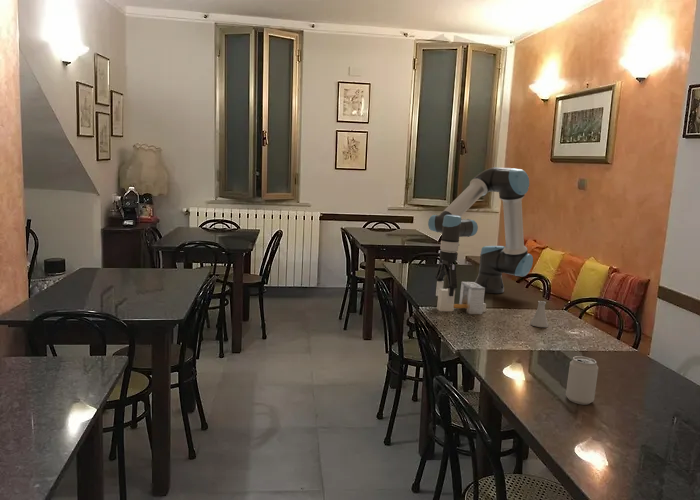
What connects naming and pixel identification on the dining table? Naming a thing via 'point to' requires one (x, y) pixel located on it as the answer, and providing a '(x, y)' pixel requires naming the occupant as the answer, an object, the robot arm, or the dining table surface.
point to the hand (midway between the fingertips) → (444, 299)
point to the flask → (540, 316)
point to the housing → (472, 297)
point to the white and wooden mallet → (447, 306)
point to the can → (582, 380)
